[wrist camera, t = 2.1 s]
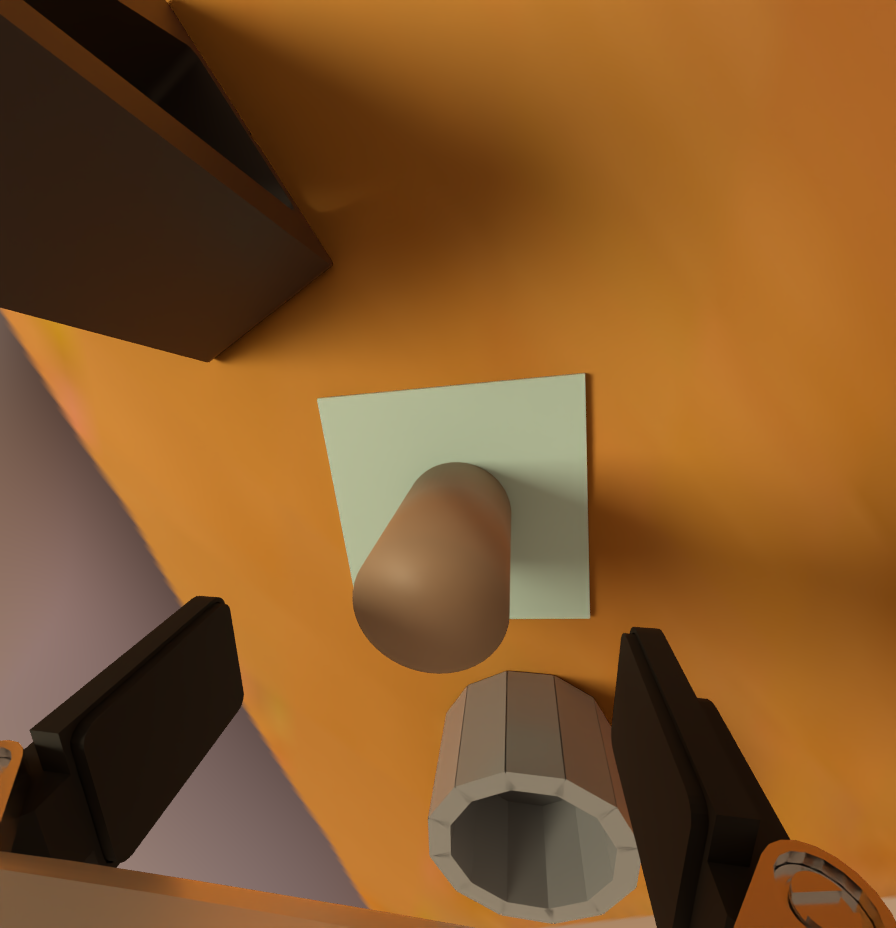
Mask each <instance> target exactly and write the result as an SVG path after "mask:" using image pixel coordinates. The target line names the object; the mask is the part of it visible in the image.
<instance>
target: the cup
mask: <svg viewBox="0 0 896 928" xmlns="http://www.w3.org/2000/svg"><path fill="white" fill-rule="evenodd" d="M611 728H612V727H611V726H610V724H609V722H608V721H607V719H606V717H605V716H604V714H603V713H602V711H601V709H600V708H599V706H598V704H597V703H596V701H595V699H594V698H593V697H591V696H590V695H588V694H586V693H584V692H583V691H581V690H579V689H577V688H576V687H574V686H572V685H570V684H569V683H567V682H565V681H563V680H561V679H560V678H558V677H556V676H554V677H553V675H546V674H535V673H524V672H514V671H508V673H507V671H505V672H503V673H500V674H497V675H495V676H492V677H489V678H486V679H484V680H481V681H478V682H476V683H473V684H470V685H468V686H467V687H466V688H465V690H464V691H463V692H462V693H461V695H460V696H459V697H458V699H457V700H456V701H455V703H454V704H453V705H452V707H451V708H450V709H449V710H448V712H447V713H446V718H445V724H444V730H443V735H442V741H441V747H440V753H439V758H438V764H437V770H436V776H435V781H434V787H433V793H432V799H431V805H430V810H429V816H428V830H429V854H430V857H431V859H432V860H433V861H434V862H435V864H436V865H437V866H438V868H439V869H440V870H441V872H442V873H443V874H444V875H445V877H446V878H447V879H448V881H449V882H450V883H451V885H452V886H453V887H454V888H455V890H457V891H458V892H459V893H461V894H463V895H465V896H467V897H469V898H470V899H472V900H474V901H476V902H478V903H480V904H481V905H483V906H485V907H487V908H489V909H491V910H492V911H494V912H496V913H498V914H501V913H502V915H503V916H509V917H515V918H521V919H527V920H533V921H539V922H545V923H551V924H553V923H554V924H556V923H561V922H566V921H572V920H577V919H582V918H587V917H593V916H598V915H602V914H604V913H605V912H607V911H608V910H609V909H610V908H612V907H613V906H614V905H615V904H617V903H618V902H619V901H620V900H622V899H623V898H624V897H625V896H627V895H628V894H629V893H630V892H631V891H633V890H634V889H635V888H636V887H637V881H638V875H639V869H640V863H641V861H640V857H639V853H638V849H637V845H636V841H635V837H634V833H633V829H632V825H631V821H630V817H629V813H628V809H627V805H626V801H625V797H624V793H623V789H622V785H621V781H620V777H619V773H618V769H617V765H616V761H615V757H614V753H613V749H612V742H611Z"/></svg>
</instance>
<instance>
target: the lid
mask: <svg viewBox="0 0 896 928" xmlns="http://www.w3.org/2000/svg"><path fill="white" fill-rule="evenodd" d="M317 402H318V407H319V412H320V418H321V423H322V428H323V433H324V438H325V443H326V448H327V453H328V459H329V464H330V469H331V474H332V479H333V484H334V489H335V495H336V500H337V505H338V510H339V515H340V520H341V525H342V531H343V536H344V541H345V546H346V551H347V556H348V561H349V566H350V572H351V577H352V582H353V607H354V612H355V616H356V619H357V621H358V623H359V626H360V628H361V629H362V631H363V633H364V634H365V636H366V637H367V638H368V640H369V641H370V642H371V643H372V644H373V645H374V646H375V648H376V649H378V650H379V651H380V652H381V653H382V654H384V655H385V656H386V657H388V658H389V659H391V660H393V661H394V662H396V663H398V664H400V665H402V666H405V667H407V668H410V669H413V670H417V671H421V672H427V673H438V674H440V673H453V672H458V671H462V670H466V669H468V668H471V667H473V666H476V665H477V664H479V663H481V662H483V661H484V660H485V659H487V658H488V657H489V656H490V655H491V654H492V653H493V652H494V651H495V650H496V649H497V648H498V646H499V645H500V644H501V642H502V640H503V638H504V636H505V634H506V631H507V628H508V624H509V619H590V591H589V542H588V493H587V444H586V396H585V373H577V374H567V375H556V376H545V377H535V378H524V379H514V380H503V381H492V382H482V383H471V384H461V385H450V386H439V387H429V388H418V389H407V390H397V391H386V392H376V393H365V394H354V395H344V396H333V397H323V398H318V399H317Z"/></svg>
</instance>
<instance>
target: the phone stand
mask: <svg viewBox="0 0 896 928" xmlns="http://www.w3.org/2000/svg"><path fill="white" fill-rule="evenodd" d="M332 265H333V264H332V261H331V259H330V257H329V256H328V254H327V253H326V251H325V250H324V248H323V246H322V245H321V243H320V242H319V240H318V239H317V237H316V235H315V234H314V232H313V231H312V229H311V227H310V226H309V224H308V223H307V221H306V220H305V218H304V216H303V215H302V213H301V212H300V210H299V209H298V207H297V205H296V204H295V202H294V201H293V199H292V198H291V196H290V194H289V193H288V191H287V190H286V188H285V187H284V185H283V183H282V182H281V180H280V179H279V177H278V176H277V174H276V172H275V171H274V169H273V168H272V166H271V165H270V163H269V161H268V160H267V158H266V157H265V155H264V153H263V152H262V150H261V149H260V147H259V146H258V145H257V144H256V143H255V142H254V140H253V139H252V137H251V133H250V131H249V130H248V128H247V127H246V125H245V124H244V122H243V120H242V119H241V117H240V116H239V114H238V113H237V111H236V109H235V108H234V106H233V105H232V103H231V102H230V100H229V98H228V97H227V95H226V94H225V92H224V91H223V89H222V87H221V86H220V84H219V83H218V81H217V79H216V78H215V76H214V75H213V73H212V72H211V70H210V68H209V67H208V65H207V64H206V62H205V61H204V59H203V57H202V56H201V54H200V53H199V51H198V50H197V48H196V46H195V45H194V43H193V42H192V40H191V39H190V37H189V35H188V34H187V32H186V31H185V29H184V28H183V26H182V24H181V23H180V21H179V20H178V18H177V17H176V15H175V13H174V12H173V10H172V9H171V7H170V6H169V4H168V3H167V2H166V1H165V0H0V308H4V309H8V310H12V311H15V312H19V313H23V314H27V315H31V316H34V317H38V318H42V319H46V320H49V321H53V322H57V323H61V324H64V325H68V326H72V327H76V328H80V329H83V330H87V331H91V332H95V333H98V334H102V335H106V336H110V337H114V338H117V339H121V340H125V341H129V342H132V343H136V344H140V345H144V346H147V347H151V348H155V349H159V350H163V351H166V352H170V353H174V354H178V355H181V356H185V357H189V358H193V359H197V360H200V361H204V362H210V361H211V360H212V359H214V358H215V357H216V356H218V355H219V354H220V353H221V352H223V351H224V350H225V349H226V348H228V347H229V346H230V345H232V344H233V343H234V342H235V341H237V340H238V339H239V338H240V337H242V336H243V335H244V334H246V333H247V332H248V331H249V330H251V329H252V328H253V327H254V326H256V325H257V324H258V323H260V322H261V321H262V320H263V319H265V318H266V317H267V316H268V315H270V314H271V313H272V312H274V311H275V310H276V309H277V308H279V307H280V306H281V305H282V304H284V303H285V302H286V301H288V300H289V299H290V298H291V297H293V296H294V295H295V294H296V293H298V292H299V291H300V290H302V289H303V288H304V287H305V286H307V285H308V284H309V283H310V282H312V281H313V280H314V279H316V278H317V277H318V276H319V275H321V274H322V273H323V272H324V271H326V270H327V269H328V268H330V267H331V266H332Z"/></svg>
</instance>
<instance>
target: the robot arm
mask: <svg viewBox="0 0 896 928" xmlns="http://www.w3.org/2000/svg"><path fill="white" fill-rule="evenodd" d="M243 697H244V692H243V686H242V679H241V673H240V667H239V661H238V655H237V649H236V643H235V637H234V631H233V625H232V619H231V612H230V608H229V606H228V605H227V604H225V602H224V601H223V599H222V598H219V597H207V596H196V597H194V598H193V599H191V600H190V601H189V602H187V603H186V604H185V605H184V606H183V607H181V608H180V609H179V610H178V611H176V612H175V613H174V614H173V615H171V616H170V617H169V618H168V619H166V620H165V621H164V622H163V623H162V624H160V625H159V626H158V627H157V628H155V629H154V630H153V631H152V632H150V633H149V634H148V635H147V636H145V637H144V638H143V639H142V640H141V641H139V642H138V643H137V644H136V645H134V646H133V647H132V648H131V649H129V650H128V651H127V652H126V653H124V654H123V655H122V656H121V657H119V658H118V659H117V660H116V661H114V662H113V663H112V664H111V665H109V666H108V667H107V668H106V669H105V670H103V671H102V672H101V673H100V674H98V675H97V676H96V677H95V678H93V679H92V680H91V681H90V682H88V683H87V684H86V685H85V686H83V687H82V688H81V689H80V690H79V691H77V692H76V693H75V694H74V695H72V696H71V697H70V698H69V699H68V700H66V701H65V702H64V703H62V704H61V705H60V706H59V707H58V708H56V709H55V710H54V711H53V712H51V713H50V714H49V715H48V716H47V717H45V718H44V719H43V720H42V721H40V722H39V723H38V724H37V725H35V726H34V727H33V728H32V729H30V733H31V736H32V739H33V743H31V744H30V745H29V746H28V747H27V748H25V749H23V747H22V746H21V745H20V744H19V742H15V741H11V740H3V741H0V928H473V927H468V926H462V925H456V924H450V923H445V922H439V921H433V920H427V919H422V918H416V917H410V916H404V915H399V914H393V913H387V912H381V911H375V910H370V909H364V908H358V907H352V906H346V905H340V904H334V903H328V902H322V901H316V900H310V899H304V898H298V897H292V896H286V895H280V894H274V893H268V892H262V891H255V890H250V889H244V888H238V887H232V886H226V885H219V884H214V883H208V882H202V881H196V880H189V879H183V878H176V877H170V876H163V875H158V874H152V873H145V872H139V871H132V870H126V869H119V868H117V866H118V865H119V864H120V863H122V862H124V861H126V860H127V859H128V858H129V857H130V856H131V855H132V854H133V853H134V852H135V850H136V849H137V847H138V846H139V845H140V843H141V842H142V840H143V839H144V838H145V837H146V835H147V834H148V832H149V831H150V830H151V828H152V827H153V826H154V824H155V823H156V822H157V820H158V819H159V818H160V816H161V815H162V813H163V812H164V811H165V809H166V808H167V807H168V805H169V804H170V803H171V801H172V800H173V798H174V797H175V796H176V795H177V793H178V792H179V790H180V789H181V788H182V786H183V785H184V783H185V782H186V781H187V779H188V778H189V777H190V776H191V774H192V773H193V772H194V770H195V769H196V767H197V766H198V765H199V763H200V762H201V761H202V759H203V758H204V757H205V755H206V754H207V753H208V751H209V750H210V748H211V747H212V746H213V744H214V743H215V742H216V740H217V739H218V738H219V736H220V735H221V734H222V732H223V731H224V729H225V728H226V727H227V725H228V724H229V723H230V721H231V720H232V719H233V717H234V716H235V714H236V713H237V712H238V710H239V709H240V707H241V705H242V702H243ZM611 742H612V749H613V753H614V757H615V761H616V765H617V769H618V773H619V777H620V781H621V785H622V789H623V793H624V797H625V801H626V805H627V809H628V813H629V817H630V821H631V825H632V829H633V833H634V837H635V841H636V845H637V849H638V853H639V857H640V861H641V865H642V869H643V873H644V877H645V881H646V885H647V889H648V893H649V897H650V901H651V906H652V910H653V914H654V918H655V921H656V926H657V928H896V921H895V919H894V917H893V915H892V913H891V912H890V910H889V909H888V908H887V906H886V905H885V903H884V902H883V901H882V899H881V898H880V897H879V895H878V894H877V892H876V891H875V890H874V889H873V888H872V887H871V886H870V885H869V884H868V883H867V882H866V881H865V880H864V879H863V878H862V877H861V876H860V875H859V874H858V873H856V872H855V871H854V870H852V869H851V868H850V867H848V866H847V865H846V864H844V863H843V862H842V861H840V860H839V859H838V858H836V857H835V856H833V855H831V854H829V853H827V852H825V851H823V850H822V849H820V848H818V847H816V846H813V845H810V844H807V843H803V842H800V841H797V840H790V838H789V837H788V835H787V833H786V831H785V829H784V828H783V826H782V824H781V822H780V821H779V819H778V817H777V815H776V813H775V812H774V810H773V808H772V806H771V804H770V803H769V801H768V799H767V797H766V796H765V794H764V792H763V790H762V788H761V787H760V785H759V783H758V781H757V780H756V778H755V776H754V774H753V772H752V771H751V769H750V767H749V765H748V763H747V762H746V760H745V758H744V756H743V755H742V753H741V751H740V749H739V747H738V746H737V744H736V742H735V740H734V739H733V737H732V735H731V733H730V731H729V730H728V728H727V726H726V724H725V722H724V721H723V719H722V717H721V715H720V714H719V712H718V710H717V708H716V707H715V706H714V704H713V703H712V702H711V701H710V700H708V699H702V698H697V697H696V695H695V693H694V691H693V689H692V687H691V686H690V684H689V682H688V680H687V678H686V676H685V674H684V672H683V670H682V668H681V666H680V664H679V663H678V661H677V659H676V657H675V655H674V653H673V651H672V649H671V647H670V645H669V643H668V642H667V640H666V638H665V636H664V634H663V632H662V631H661V630H660V629H655V628H641V627H632V628H631V631H630V634H628V633H623V634H622V637H621V645H620V654H619V663H618V672H617V682H616V691H615V700H614V709H613V718H612V728H611Z"/></svg>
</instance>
